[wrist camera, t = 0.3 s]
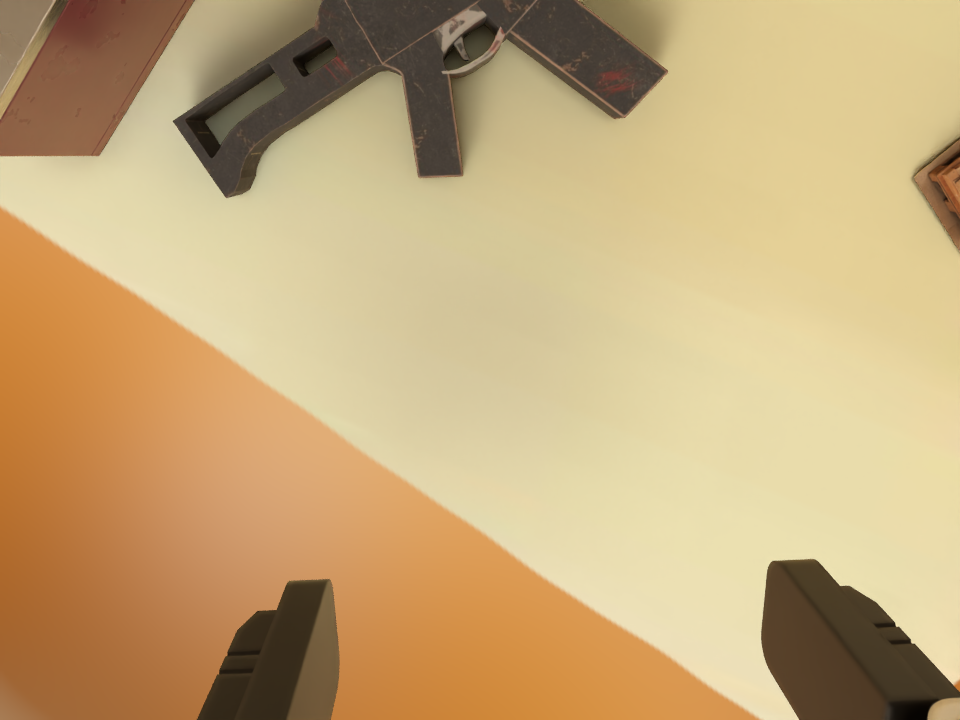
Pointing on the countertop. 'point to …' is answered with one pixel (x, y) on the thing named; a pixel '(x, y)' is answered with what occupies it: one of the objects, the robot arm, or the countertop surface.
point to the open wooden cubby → (87, 76)
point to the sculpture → (944, 189)
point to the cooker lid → (22, 39)
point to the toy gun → (417, 73)
